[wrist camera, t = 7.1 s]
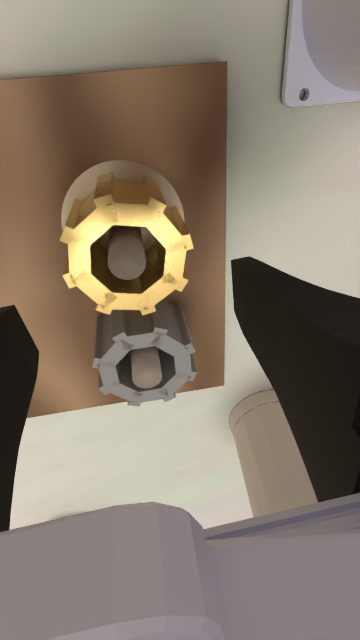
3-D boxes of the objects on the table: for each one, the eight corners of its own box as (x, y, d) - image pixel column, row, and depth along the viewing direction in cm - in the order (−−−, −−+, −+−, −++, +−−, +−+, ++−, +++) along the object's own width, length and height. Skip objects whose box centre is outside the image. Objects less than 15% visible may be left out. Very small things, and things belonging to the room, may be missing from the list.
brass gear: (184, 178, 17) (200, 201, 14) (172, 278, 20) (183, 316, 17) (67, 167, 16) (55, 189, 13) (73, 274, 19) (65, 314, 16)
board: (220, 62, 16) (264, 54, 11) (220, 374, 27) (242, 435, 23) (-151, 93, 14) (-283, 98, 10) (15, 407, 26) (-7, 479, 21)
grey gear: (181, 283, 21) (194, 321, 17) (187, 353, 24) (198, 396, 21) (88, 296, 20) (83, 338, 17) (106, 366, 23) (105, 412, 20)
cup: (312, 420, 33) (395, 562, 23) (237, 451, 34) (285, 600, 24) (293, 369, 28) (386, 520, 19) (207, 407, 29) (252, 568, 20)
